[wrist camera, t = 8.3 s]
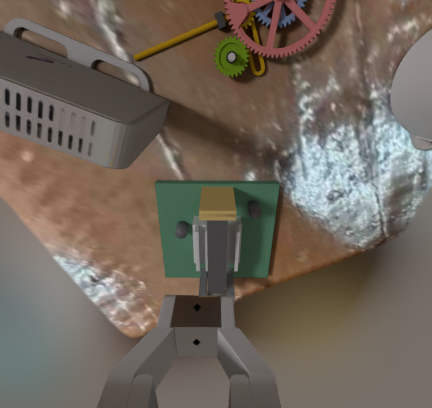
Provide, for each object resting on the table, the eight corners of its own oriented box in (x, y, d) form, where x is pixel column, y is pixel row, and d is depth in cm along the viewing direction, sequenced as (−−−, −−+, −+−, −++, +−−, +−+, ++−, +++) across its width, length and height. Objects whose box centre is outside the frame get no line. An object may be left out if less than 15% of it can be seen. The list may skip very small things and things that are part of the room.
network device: (178, 83, 35) (141, 97, 18) (161, 142, 39) (116, 202, 22) (-24, -2, 31) (-339, -96, 13) (-21, 73, 35) (-265, 77, 17)
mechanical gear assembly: (372, 28, 33) (357, -133, 27) (392, 22, 29) (380, -167, 23) (161, 114, 38) (108, -5, 32) (155, 118, 34) (93, -16, 28)
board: (278, 181, 42) (293, 207, 34) (266, 273, 51) (275, 311, 43) (156, 180, 42) (142, 207, 34) (166, 273, 51) (157, 311, 43)
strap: (228, 215, 37) (228, 219, 36) (225, 292, 46) (225, 297, 45) (206, 215, 37) (206, 219, 36) (207, 292, 46) (207, 297, 45)
